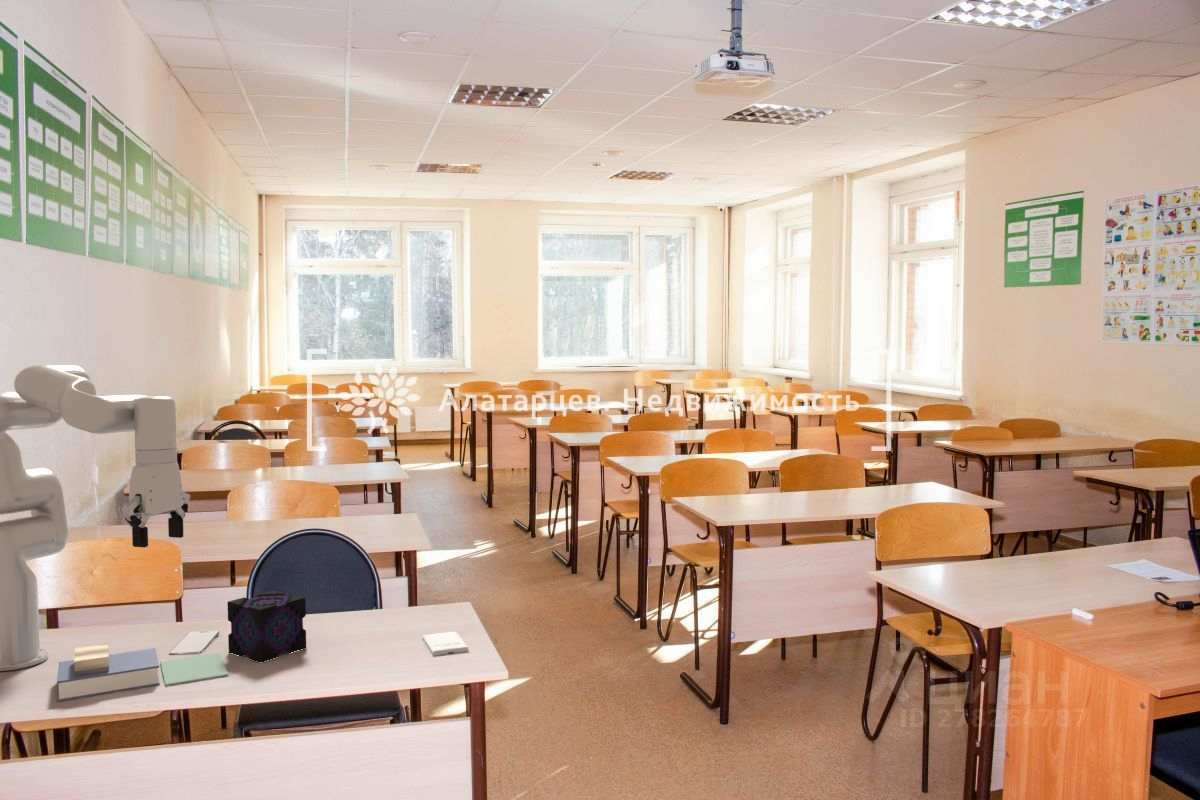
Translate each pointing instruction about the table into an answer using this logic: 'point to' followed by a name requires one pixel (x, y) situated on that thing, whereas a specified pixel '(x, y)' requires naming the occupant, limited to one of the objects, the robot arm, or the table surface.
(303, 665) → the table surface
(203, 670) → the mat
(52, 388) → the robot arm
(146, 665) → the textbook
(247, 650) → the energy cube
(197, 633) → the smartphone
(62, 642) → the table surface
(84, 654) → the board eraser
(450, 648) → the external hard drive
